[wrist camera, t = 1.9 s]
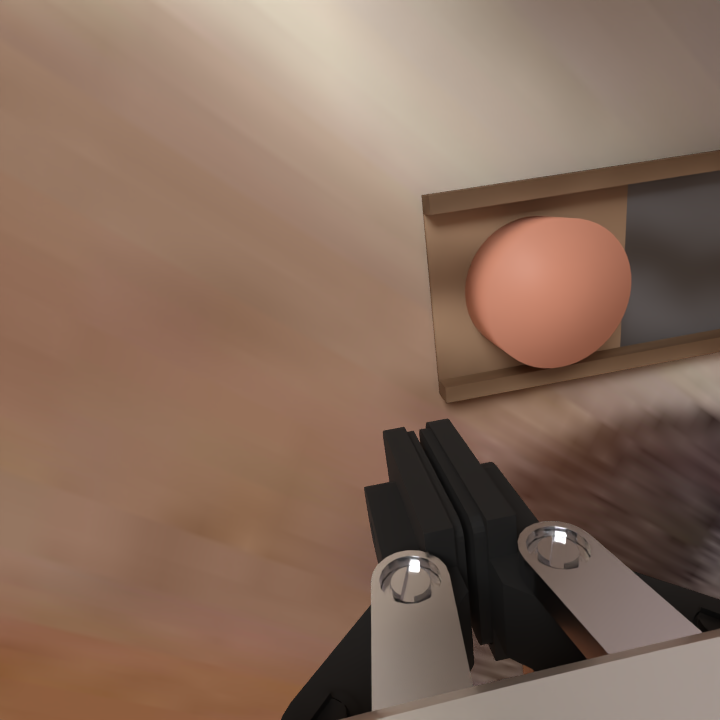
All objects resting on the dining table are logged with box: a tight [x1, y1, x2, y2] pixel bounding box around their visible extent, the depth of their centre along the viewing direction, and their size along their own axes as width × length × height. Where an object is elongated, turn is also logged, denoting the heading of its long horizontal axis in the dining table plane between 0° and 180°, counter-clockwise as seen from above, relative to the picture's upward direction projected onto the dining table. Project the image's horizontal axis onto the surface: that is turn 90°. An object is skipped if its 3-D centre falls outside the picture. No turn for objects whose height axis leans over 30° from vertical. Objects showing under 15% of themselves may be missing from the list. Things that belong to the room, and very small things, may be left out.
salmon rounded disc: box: [465, 216, 631, 368], centre depth 27 cm, size 8×8×4 cm
